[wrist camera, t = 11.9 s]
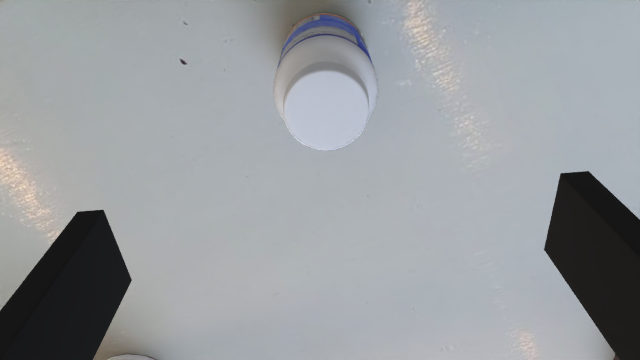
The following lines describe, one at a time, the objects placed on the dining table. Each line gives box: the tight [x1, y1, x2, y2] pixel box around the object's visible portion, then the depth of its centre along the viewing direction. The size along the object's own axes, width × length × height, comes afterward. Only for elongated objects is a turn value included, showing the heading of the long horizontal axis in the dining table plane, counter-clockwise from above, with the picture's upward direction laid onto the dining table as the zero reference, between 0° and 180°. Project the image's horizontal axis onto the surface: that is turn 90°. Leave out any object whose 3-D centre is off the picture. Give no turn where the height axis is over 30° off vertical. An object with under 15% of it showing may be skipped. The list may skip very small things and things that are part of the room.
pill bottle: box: [274, 13, 378, 150], centre depth 25 cm, size 5×5×10 cm
